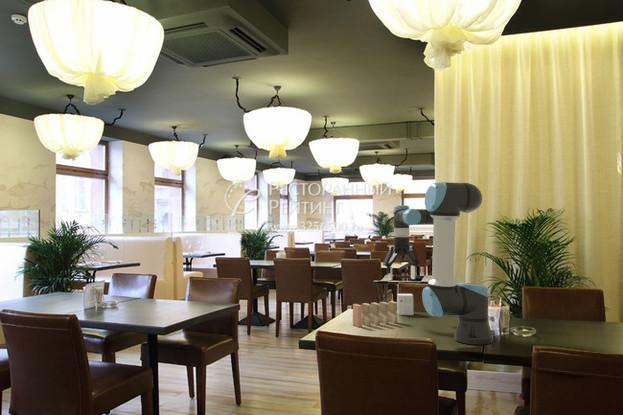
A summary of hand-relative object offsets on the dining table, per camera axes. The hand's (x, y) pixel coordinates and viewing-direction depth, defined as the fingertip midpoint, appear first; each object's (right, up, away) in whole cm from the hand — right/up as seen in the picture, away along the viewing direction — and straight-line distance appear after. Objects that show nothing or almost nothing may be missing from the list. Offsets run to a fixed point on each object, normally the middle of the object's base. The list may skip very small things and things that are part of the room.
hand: (401, 279), depth 249 cm
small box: (+5, -21, +19) cm, 29 cm away
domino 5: (-5, -21, -3) cm, 21 cm away
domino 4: (-9, -21, -5) cm, 23 cm away
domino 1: (-23, -20, -11) cm, 33 cm away
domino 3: (-14, -21, -7) cm, 26 cm away
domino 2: (-19, -21, -9) cm, 29 cm away
